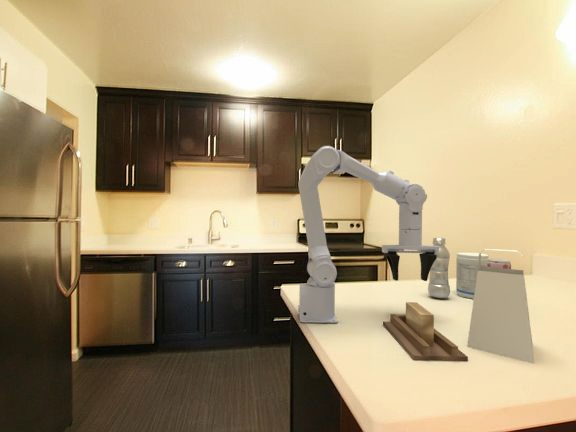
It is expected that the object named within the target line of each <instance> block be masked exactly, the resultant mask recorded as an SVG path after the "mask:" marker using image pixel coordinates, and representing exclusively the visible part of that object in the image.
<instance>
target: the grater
mask: <svg viewBox="0 0 576 432" xmlns="http://www.w3.org/2000/svg"><path fill="white" fill-rule="evenodd" d="M485 250H486V251H498V252H499V251H500V252H501V251H502V252H515V253H516V252H517V253H518V254H519V255H520V256H521V257H524V255H523V253H521V252H520V251H519V250H517V249H500V248H484V249H483V251H485ZM479 253H480V254H479V270H478V272H477V279H476V286H475V294H474V299H473V302H472V309H471V316H470V324H469V331H468V337H467V344H466V345H467V346H466V347H467V348H470V349H474V350H479V351H482V352H485V353H489V354H494V355H499V356H501V357H502V356H503V357H505V358H510V359H514V360H518V361H522V362H524V363H525V362H527V363H530V364H534V363H535V361H534V345H533V344H534V343H533V335H532V330H531V329H532V328H531V320H530V312H529V304H528V296H527V287H526V281H525V272H524V269H513V268H511V269H504V268H494V267H483V266H482V267H481V254H482V252H479Z"/></svg>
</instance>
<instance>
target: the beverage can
mask: <svg viewBox="0 0 576 432" xmlns="http://www.w3.org/2000/svg"><path fill="white" fill-rule="evenodd" d="M487 267H494V268H504V269H512V264H511V260H510V259H504V258H492V257H491V258H488V261H487Z"/></svg>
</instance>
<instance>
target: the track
mask: <svg viewBox="0 0 576 432" xmlns="http://www.w3.org/2000/svg"><path fill="white" fill-rule="evenodd" d="M382 326H383V327H384V328H385V329H386V330H387V332H389V334H390V335H391V336H392V337H393V338H394V339H395V341H397V343H398V344H399V345H400V347H402V348H403V350H404V351H405V352H406V353H407V354H408V355H409V357H410V358H411V359H412V360H413V361H443V362H447V361H448V362H452V361H453V362H468V361H469V359H468V358H469V357H468V355H466V354H465V353H463V351H461V350H460V349H459V346H458V345H457V344H455V343H454V342H453V341H451V339H449V338H447V337H446V336H445V335H443V334H442V333H441V332H440V331H438V330H437V329H436V328H434V345H428V344H427V343H426V342H425V341H424V340H423V339H422V338H420V337H419V336H418V335H417V334H416V333H415V332H414V331H413V330H412V329H411V328H409V327H408V326H407V325H406V313H405V314H404V313H403V314H401V313H400V314H398V313H397V314H392V313H391V314H389V321H382Z"/></svg>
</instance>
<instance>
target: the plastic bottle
mask: <svg viewBox="0 0 576 432" xmlns="http://www.w3.org/2000/svg"><path fill="white" fill-rule="evenodd" d="M445 245H446V238H443V237H442V238H441V237H440V238H439V237H433V239H432V246H439V254H435V255H437V259H436V260H435V261H434V263H433V265H432V267H431V269H430V272H429V280H428V284H427V285H428V286H427V291H428V295H429V296H430V297H433V298H436V299H440V300H441V299H448V298H449V297H450V295H451V287H450V285H449V283H450V282H449V265H450V258H451V254H450V251H449V249H448V248H447V247H446V246H445Z"/></svg>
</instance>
